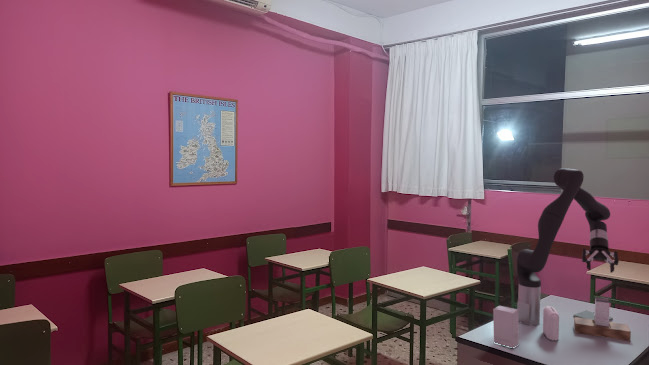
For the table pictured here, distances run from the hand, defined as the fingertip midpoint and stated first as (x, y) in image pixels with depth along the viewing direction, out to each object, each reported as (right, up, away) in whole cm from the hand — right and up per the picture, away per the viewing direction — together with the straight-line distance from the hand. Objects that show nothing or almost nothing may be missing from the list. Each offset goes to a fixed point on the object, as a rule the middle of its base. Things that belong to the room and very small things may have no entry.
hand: (600, 270), depth 204 cm
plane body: (-5, -25, -9) cm, 27 cm away
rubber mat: (+2, -24, +9) cm, 26 cm away
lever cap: (-5, -22, -9) cm, 25 cm away
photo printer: (-29, -26, -13) cm, 41 cm away
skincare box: (-52, -26, -22) cm, 62 cm away
